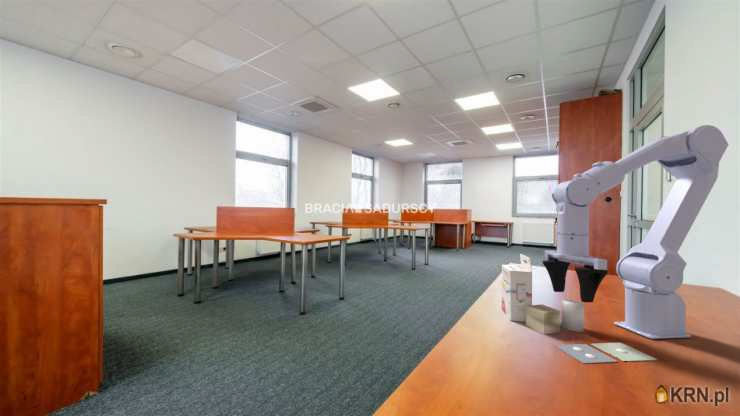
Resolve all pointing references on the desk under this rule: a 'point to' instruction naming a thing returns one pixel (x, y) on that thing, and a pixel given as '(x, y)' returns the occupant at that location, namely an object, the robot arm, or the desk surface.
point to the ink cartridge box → (517, 289)
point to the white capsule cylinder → (572, 315)
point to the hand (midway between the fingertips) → (572, 296)
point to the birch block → (543, 318)
